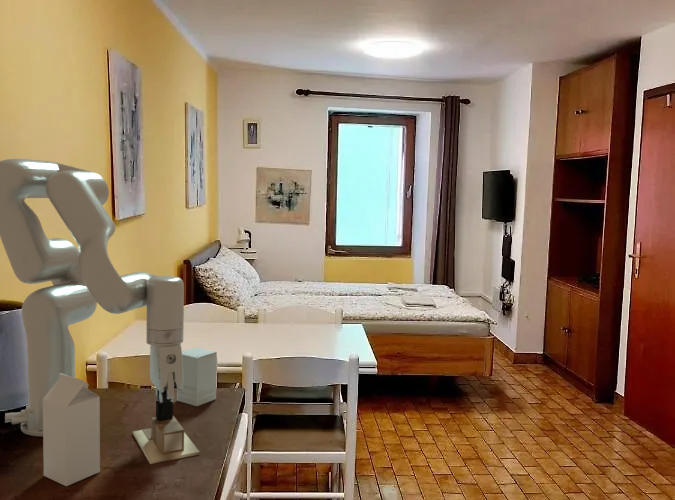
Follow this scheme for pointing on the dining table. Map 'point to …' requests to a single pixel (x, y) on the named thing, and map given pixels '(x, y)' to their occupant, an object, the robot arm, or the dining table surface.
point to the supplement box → (198, 377)
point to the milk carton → (71, 431)
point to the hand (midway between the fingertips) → (164, 418)
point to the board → (153, 452)
